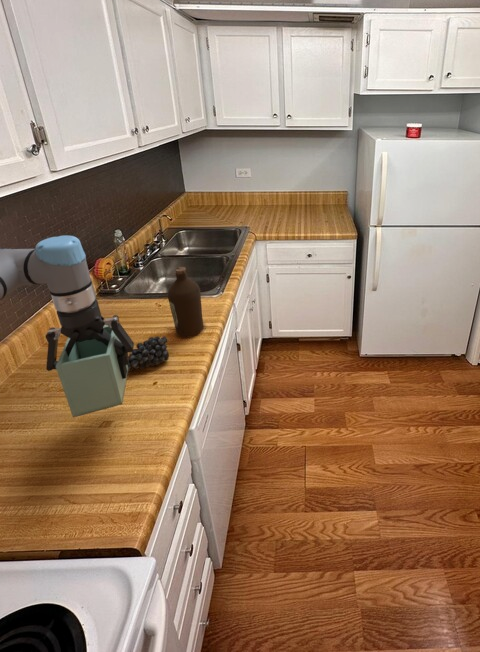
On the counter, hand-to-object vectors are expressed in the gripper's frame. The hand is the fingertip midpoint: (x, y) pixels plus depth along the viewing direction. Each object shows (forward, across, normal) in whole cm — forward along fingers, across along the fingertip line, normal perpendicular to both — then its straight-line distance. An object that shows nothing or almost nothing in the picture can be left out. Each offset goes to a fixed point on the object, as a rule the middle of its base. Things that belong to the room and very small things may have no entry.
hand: (100, 380), depth 81 cm
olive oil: (+14, +20, +32) cm, 41 cm away
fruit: (+14, +7, +19) cm, 25 cm away
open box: (-4, 0, 0) cm, 4 cm away
